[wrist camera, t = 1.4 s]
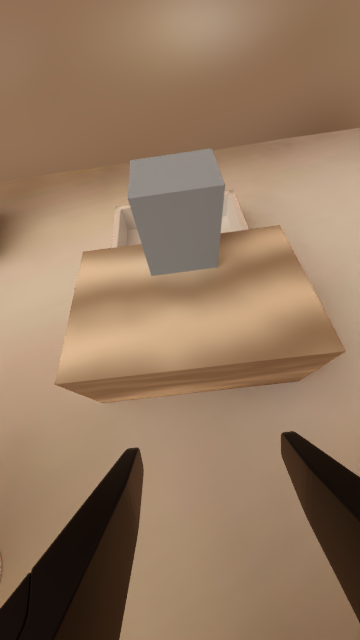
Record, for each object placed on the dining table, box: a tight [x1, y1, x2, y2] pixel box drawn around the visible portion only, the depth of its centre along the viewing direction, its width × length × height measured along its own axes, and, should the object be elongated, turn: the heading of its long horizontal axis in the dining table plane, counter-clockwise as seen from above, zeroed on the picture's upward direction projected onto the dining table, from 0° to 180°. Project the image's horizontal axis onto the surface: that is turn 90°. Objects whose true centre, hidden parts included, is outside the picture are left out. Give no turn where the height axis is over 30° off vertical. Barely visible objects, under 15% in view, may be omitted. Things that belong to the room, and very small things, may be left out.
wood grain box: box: [55, 225, 346, 403], centre depth 21 cm, size 13×20×8 cm
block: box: [128, 149, 225, 276], centre depth 17 cm, size 5×6×7 cm
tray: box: [111, 190, 249, 248], centre depth 30 cm, size 15×18×4 cm
